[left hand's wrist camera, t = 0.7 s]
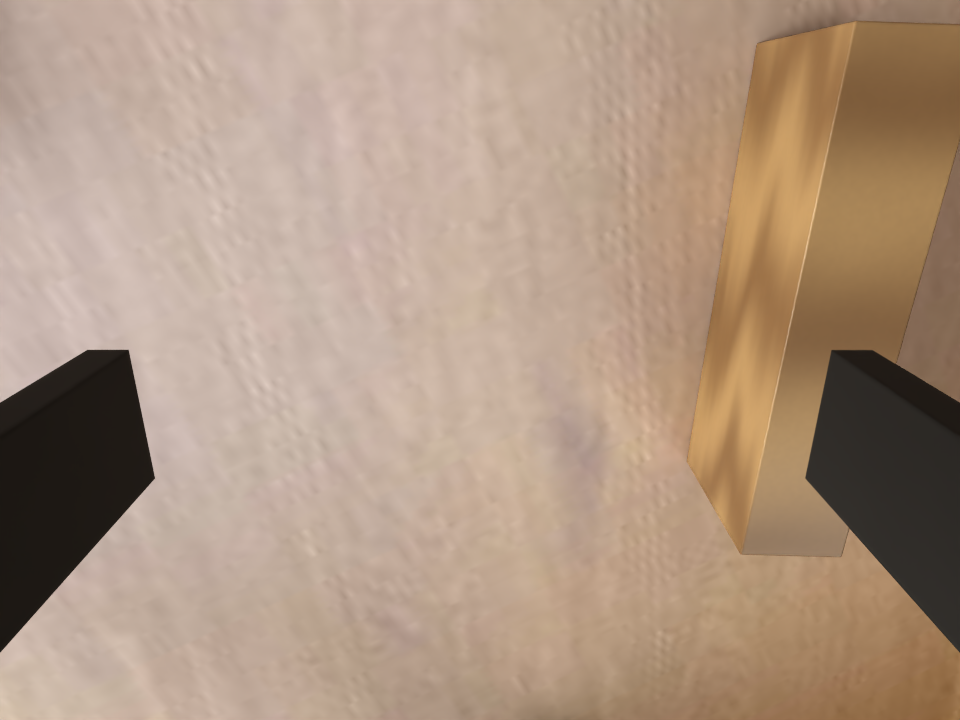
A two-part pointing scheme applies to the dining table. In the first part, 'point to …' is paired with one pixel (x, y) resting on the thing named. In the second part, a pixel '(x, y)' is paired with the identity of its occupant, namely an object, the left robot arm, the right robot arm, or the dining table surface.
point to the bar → (818, 258)
